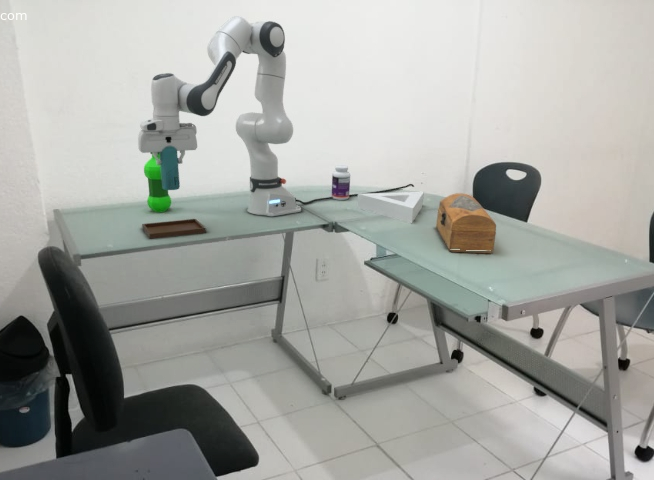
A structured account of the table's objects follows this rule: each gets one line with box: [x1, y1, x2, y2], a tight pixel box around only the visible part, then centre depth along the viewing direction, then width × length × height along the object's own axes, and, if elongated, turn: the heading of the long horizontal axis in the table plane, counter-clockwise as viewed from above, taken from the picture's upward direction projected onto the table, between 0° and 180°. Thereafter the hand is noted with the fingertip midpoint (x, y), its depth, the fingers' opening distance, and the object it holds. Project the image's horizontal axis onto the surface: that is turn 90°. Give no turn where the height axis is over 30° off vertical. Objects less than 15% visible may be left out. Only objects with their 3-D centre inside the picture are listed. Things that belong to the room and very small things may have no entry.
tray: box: [141, 218, 206, 240], centre depth 223 cm, size 20×13×2 cm, turn 115°
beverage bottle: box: [160, 137, 181, 191], centre depth 214 cm, size 6×7×20 cm
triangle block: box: [356, 191, 425, 225], centre depth 255 cm, size 30×26×6 cm
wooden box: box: [435, 192, 497, 254], centre depth 217 cm, size 30×16×14 cm, turn 176°
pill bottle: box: [331, 165, 351, 201], centre depth 271 cm, size 8×8×14 cm
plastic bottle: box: [143, 152, 172, 213], centre depth 244 cm, size 10×10×25 cm
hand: (169, 164), depth 214 cm, fingers closed on beverage bottle, 6 cm apart
